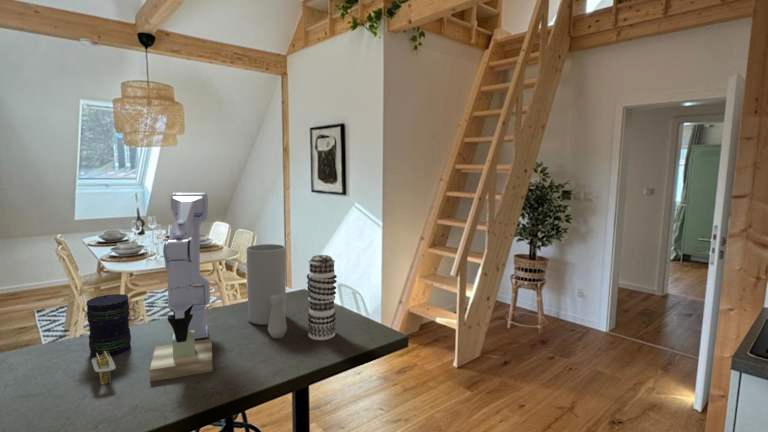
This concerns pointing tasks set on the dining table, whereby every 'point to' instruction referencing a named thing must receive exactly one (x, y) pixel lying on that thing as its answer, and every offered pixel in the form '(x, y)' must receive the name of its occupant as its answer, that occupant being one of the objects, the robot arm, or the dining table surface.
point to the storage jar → (109, 325)
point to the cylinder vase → (264, 280)
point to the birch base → (181, 362)
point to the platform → (104, 366)
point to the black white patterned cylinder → (321, 297)
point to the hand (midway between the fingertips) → (182, 335)
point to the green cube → (184, 346)
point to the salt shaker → (277, 317)
